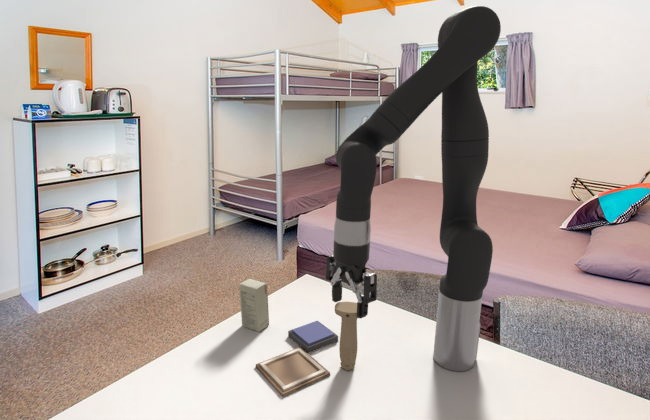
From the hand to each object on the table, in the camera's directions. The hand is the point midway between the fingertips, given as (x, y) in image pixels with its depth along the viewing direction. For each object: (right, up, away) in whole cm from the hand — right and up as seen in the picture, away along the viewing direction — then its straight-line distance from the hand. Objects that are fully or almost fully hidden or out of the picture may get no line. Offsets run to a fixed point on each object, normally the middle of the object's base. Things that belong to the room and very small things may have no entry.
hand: (348, 308), depth 93 cm
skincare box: (-24, -9, +21) cm, 33 cm away
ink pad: (-8, -11, +15) cm, 20 cm away
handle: (0, -14, +4) cm, 15 cm away
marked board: (-12, -14, +2) cm, 19 cm away
